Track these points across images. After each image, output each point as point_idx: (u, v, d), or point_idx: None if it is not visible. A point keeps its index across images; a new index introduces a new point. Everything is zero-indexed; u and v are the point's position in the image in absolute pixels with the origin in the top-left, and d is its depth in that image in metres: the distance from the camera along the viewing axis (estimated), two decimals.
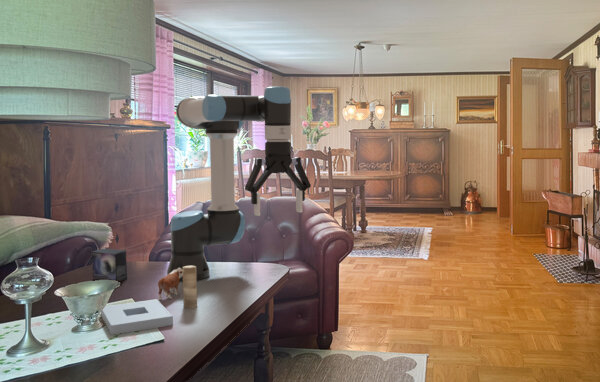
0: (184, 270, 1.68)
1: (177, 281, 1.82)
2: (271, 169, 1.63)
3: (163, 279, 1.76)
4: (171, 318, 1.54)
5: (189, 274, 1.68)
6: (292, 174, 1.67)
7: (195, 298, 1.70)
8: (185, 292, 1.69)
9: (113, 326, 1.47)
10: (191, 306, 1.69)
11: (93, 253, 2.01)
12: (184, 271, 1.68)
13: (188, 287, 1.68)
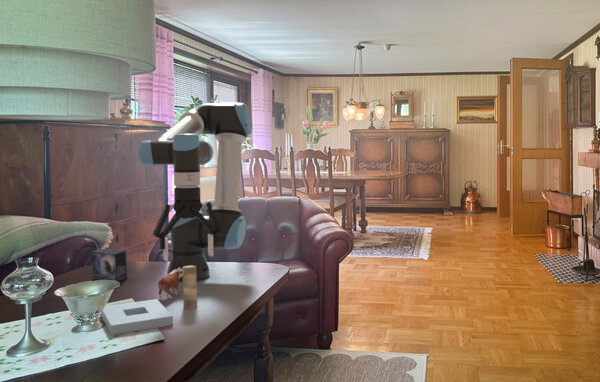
0: (184, 270, 1.68)
1: (177, 281, 1.82)
2: (179, 215, 1.65)
3: (163, 279, 1.76)
4: (171, 318, 1.54)
5: (189, 274, 1.68)
6: (202, 219, 1.69)
7: (195, 298, 1.70)
8: (185, 292, 1.69)
9: (113, 326, 1.47)
10: (191, 306, 1.69)
11: (93, 253, 2.01)
12: (184, 271, 1.68)
13: (188, 287, 1.68)
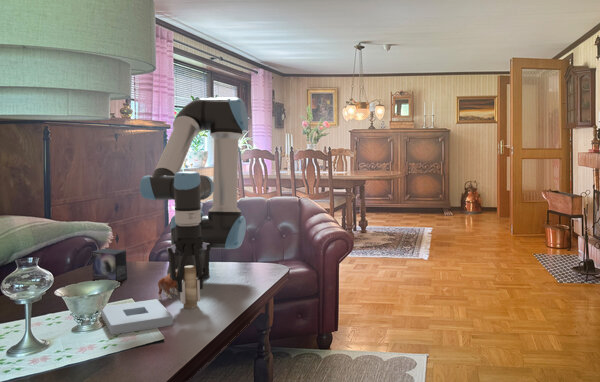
0: (184, 270, 1.68)
1: None
2: (184, 254, 1.67)
3: (163, 279, 1.76)
4: (171, 318, 1.54)
5: (189, 274, 1.68)
6: (196, 259, 1.69)
7: (195, 298, 1.70)
8: (185, 292, 1.69)
9: (113, 326, 1.47)
10: (191, 306, 1.69)
11: (93, 253, 2.01)
12: (184, 271, 1.68)
13: (188, 287, 1.68)
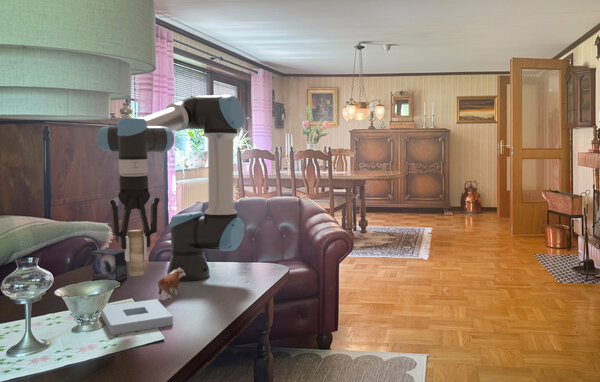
0: (129, 234, 1.55)
1: (177, 281, 1.82)
2: (128, 207, 1.53)
3: (163, 279, 1.76)
4: (171, 318, 1.54)
5: (134, 238, 1.55)
6: (143, 214, 1.56)
7: (141, 265, 1.56)
8: (130, 258, 1.55)
9: (113, 326, 1.47)
10: (137, 273, 1.56)
11: (93, 253, 2.01)
12: (129, 235, 1.55)
13: (134, 252, 1.55)
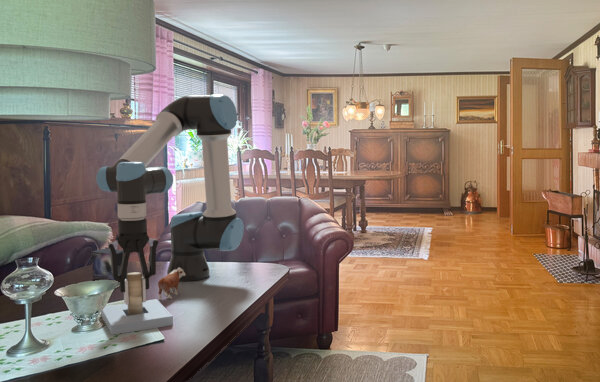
0: (128, 277, 1.56)
1: (177, 281, 1.82)
2: (127, 251, 1.54)
3: (163, 279, 1.76)
4: (171, 318, 1.54)
5: (133, 281, 1.55)
6: (142, 257, 1.57)
7: (140, 307, 1.57)
8: (129, 301, 1.56)
9: (113, 326, 1.47)
10: None
11: (93, 253, 2.01)
12: (128, 278, 1.56)
13: (133, 295, 1.56)
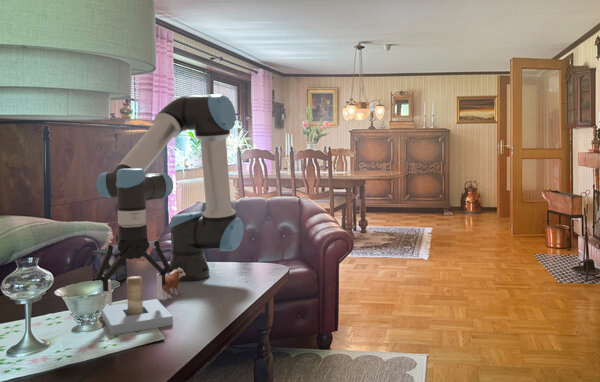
0: (128, 281, 1.56)
1: (177, 281, 1.82)
2: (123, 256, 1.54)
3: None
4: (171, 318, 1.54)
5: (133, 286, 1.55)
6: (149, 259, 1.58)
7: (140, 311, 1.57)
8: (129, 305, 1.56)
9: (113, 326, 1.47)
10: None
11: (93, 253, 2.01)
12: (128, 282, 1.56)
13: (133, 299, 1.56)
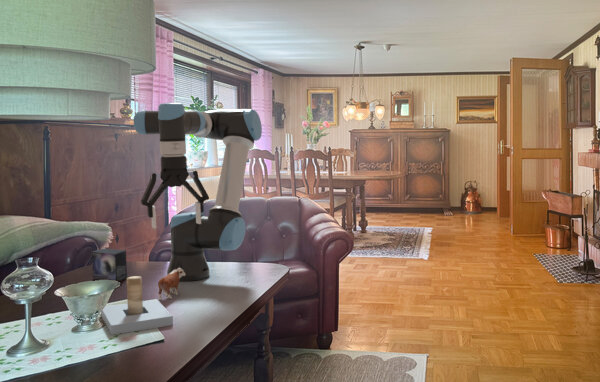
0: (128, 281, 1.56)
1: (177, 281, 1.82)
2: (166, 183, 1.68)
3: (163, 279, 1.76)
4: (171, 318, 1.54)
5: (133, 286, 1.55)
6: (189, 187, 1.72)
7: (140, 311, 1.57)
8: (129, 305, 1.56)
9: (113, 326, 1.47)
10: None
11: (93, 253, 2.01)
12: (128, 282, 1.56)
13: (133, 299, 1.56)
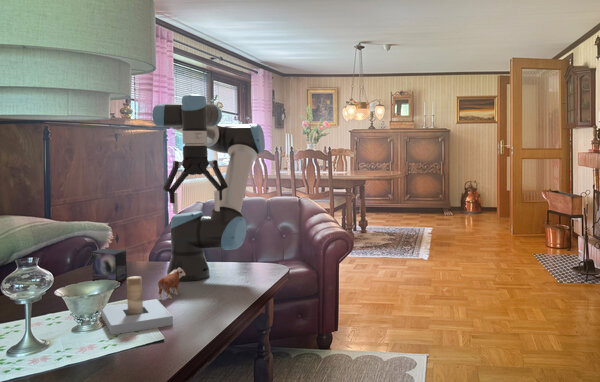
0: (128, 281, 1.56)
1: (177, 281, 1.82)
2: (188, 171, 1.76)
3: (163, 279, 1.76)
4: (171, 318, 1.54)
5: (133, 286, 1.55)
6: (209, 175, 1.80)
7: (140, 311, 1.57)
8: (129, 305, 1.56)
9: (113, 326, 1.47)
10: None
11: (93, 253, 2.01)
12: (128, 282, 1.56)
13: (133, 299, 1.56)
